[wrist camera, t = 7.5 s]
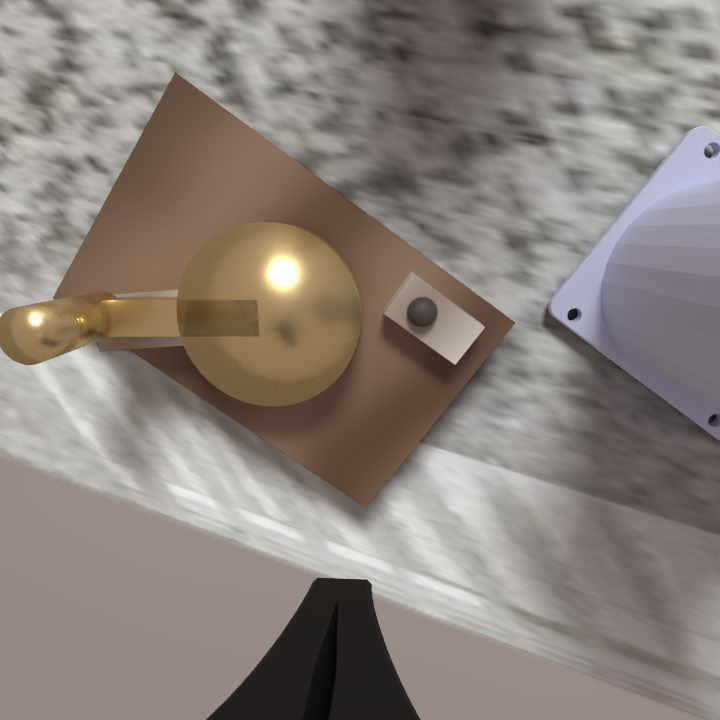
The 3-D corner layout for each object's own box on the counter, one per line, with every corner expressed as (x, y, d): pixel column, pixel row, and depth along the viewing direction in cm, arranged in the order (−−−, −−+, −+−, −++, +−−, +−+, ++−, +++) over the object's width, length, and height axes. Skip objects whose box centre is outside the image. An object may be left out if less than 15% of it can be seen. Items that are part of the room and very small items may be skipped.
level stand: (503, 314, 20) (527, 331, 16) (359, 494, 22) (353, 543, 19) (197, 89, 19) (153, 55, 15) (77, 304, 21) (14, 319, 17)
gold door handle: (362, 221, 17) (352, 217, 13) (363, 393, 19) (356, 442, 14) (78, 225, 18) (-25, 222, 13) (101, 392, 19) (15, 438, 15)
